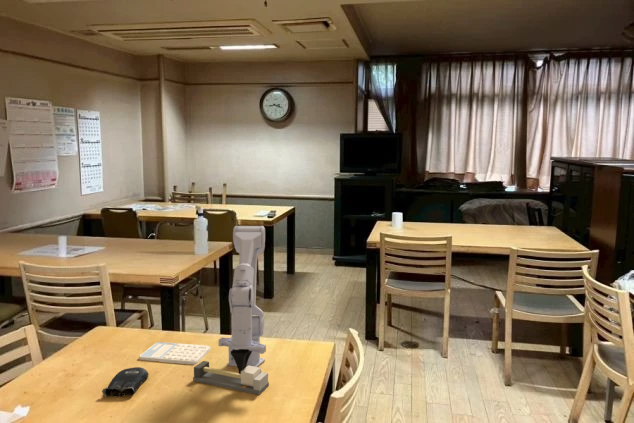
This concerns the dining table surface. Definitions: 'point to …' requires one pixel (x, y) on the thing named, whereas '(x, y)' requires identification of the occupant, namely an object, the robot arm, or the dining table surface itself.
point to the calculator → (175, 353)
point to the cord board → (228, 379)
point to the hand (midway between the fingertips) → (242, 372)
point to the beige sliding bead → (249, 375)
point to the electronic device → (126, 381)
